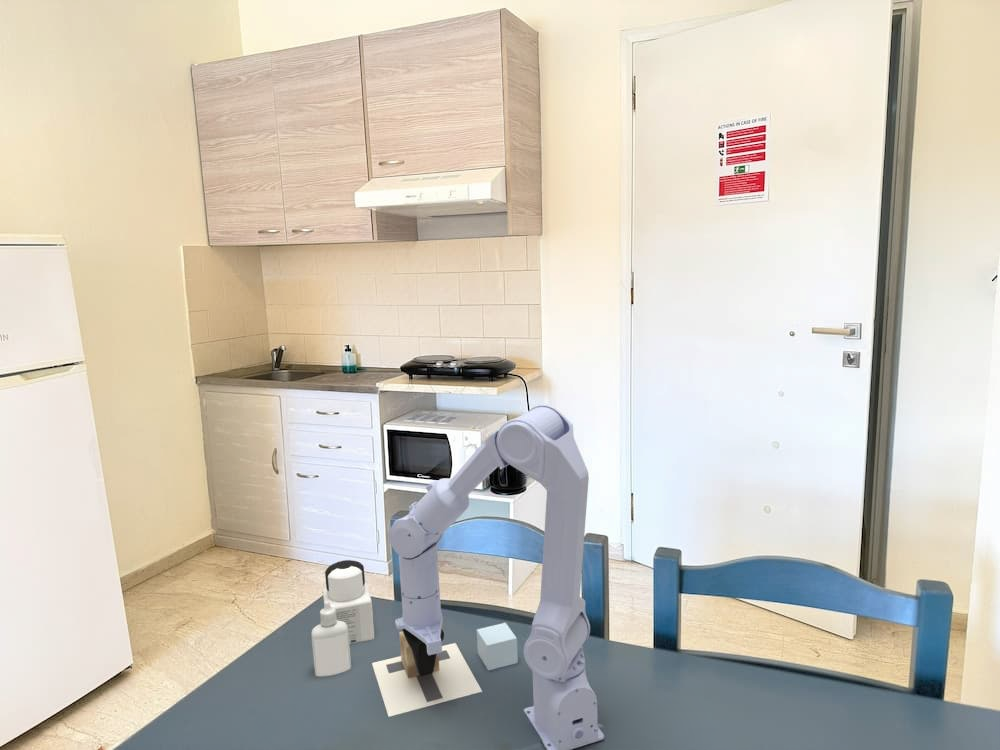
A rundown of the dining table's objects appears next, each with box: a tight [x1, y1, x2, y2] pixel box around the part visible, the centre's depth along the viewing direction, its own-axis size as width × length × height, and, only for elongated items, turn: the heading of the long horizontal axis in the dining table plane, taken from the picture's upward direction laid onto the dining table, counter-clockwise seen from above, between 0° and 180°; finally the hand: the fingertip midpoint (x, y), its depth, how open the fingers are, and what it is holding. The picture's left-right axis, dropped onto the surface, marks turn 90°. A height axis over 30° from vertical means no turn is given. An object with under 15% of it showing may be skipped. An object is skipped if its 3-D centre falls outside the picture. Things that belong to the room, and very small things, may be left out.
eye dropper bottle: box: [311, 601, 352, 677], centre depth 105 cm, size 4×6×12 cm
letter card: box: [371, 642, 483, 718], centre depth 103 cm, size 14×14×1 cm
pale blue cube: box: [476, 622, 519, 671], centre depth 107 cm, size 5×5×5 cm
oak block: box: [398, 631, 439, 678], centre depth 105 cm, size 5×5×5 cm
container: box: [322, 559, 375, 645], centre depth 116 cm, size 8×8×13 cm
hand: (425, 672), depth 102 cm, fingers closed
